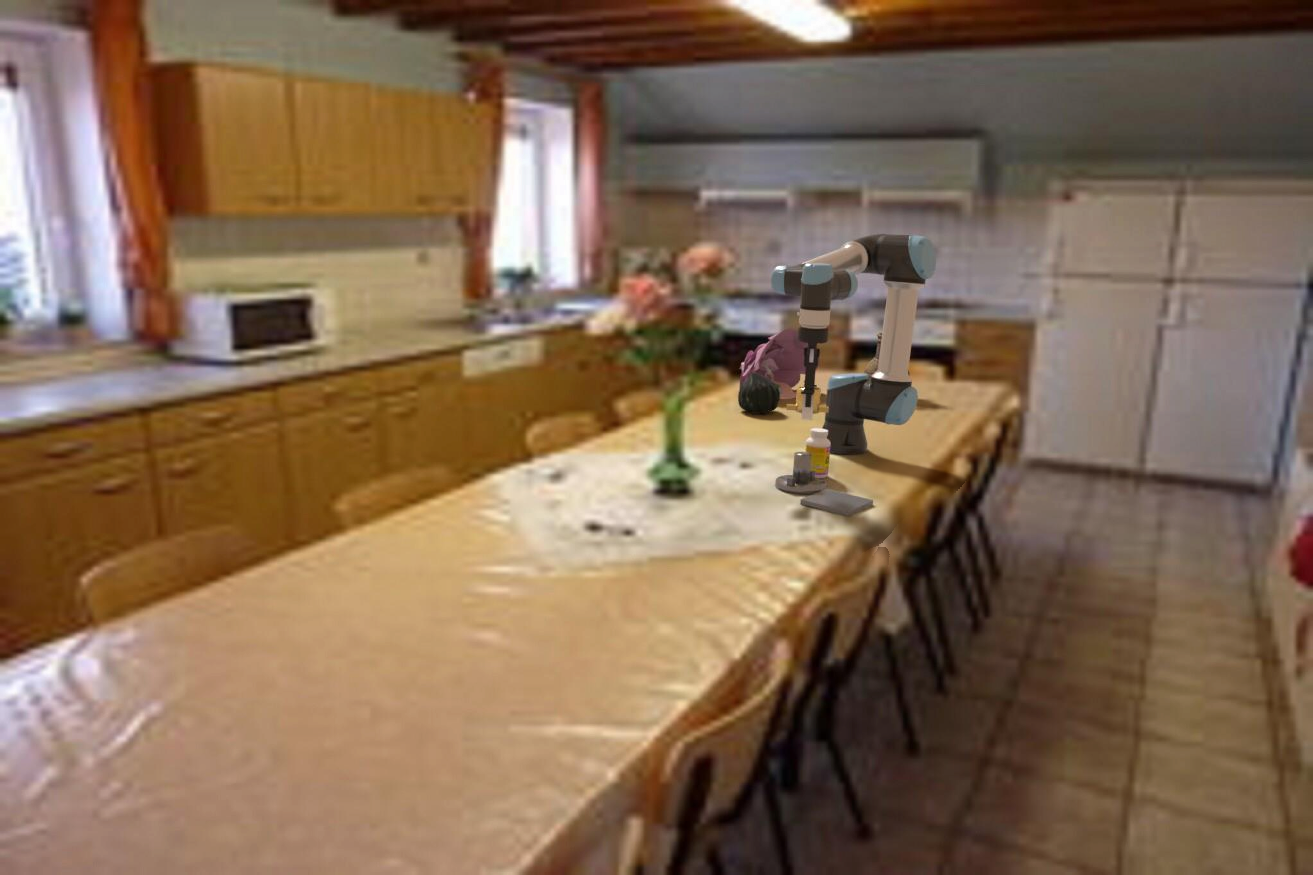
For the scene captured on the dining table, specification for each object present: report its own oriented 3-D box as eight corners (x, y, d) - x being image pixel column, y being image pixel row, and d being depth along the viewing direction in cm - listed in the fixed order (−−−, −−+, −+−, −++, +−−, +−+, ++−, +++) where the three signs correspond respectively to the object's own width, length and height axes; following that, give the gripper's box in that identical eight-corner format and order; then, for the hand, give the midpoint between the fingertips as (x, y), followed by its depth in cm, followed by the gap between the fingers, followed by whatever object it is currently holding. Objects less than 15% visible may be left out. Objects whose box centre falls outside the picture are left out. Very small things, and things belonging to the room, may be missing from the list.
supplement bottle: (827, 480, 254) (831, 433, 251) (802, 477, 255) (806, 431, 252) (828, 473, 260) (832, 428, 257) (803, 471, 261) (807, 426, 258)
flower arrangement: (775, 416, 354) (791, 345, 343) (721, 395, 365) (735, 326, 353) (812, 394, 382) (829, 328, 371) (761, 375, 393) (775, 310, 381)
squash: (793, 398, 336) (769, 363, 338) (775, 406, 324) (750, 370, 326) (765, 419, 344) (742, 385, 346) (746, 427, 332) (722, 392, 334)
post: (791, 477, 255) (794, 445, 253) (834, 487, 247) (837, 454, 245) (765, 486, 245) (768, 453, 243) (809, 498, 237) (812, 463, 235)
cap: (828, 410, 243) (830, 386, 242) (828, 415, 238) (830, 391, 236) (786, 407, 245) (788, 384, 243) (786, 412, 239) (787, 388, 238)
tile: (826, 493, 242) (827, 488, 241) (872, 504, 234) (873, 500, 233) (800, 503, 232) (800, 499, 232) (847, 516, 224) (848, 511, 224)
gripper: (799, 320, 245) (793, 407, 251) (797, 330, 227) (791, 423, 233) (828, 322, 244) (821, 409, 250) (829, 332, 226) (821, 425, 232)
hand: (806, 416), depth 242 cm, fingers closed on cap, 6 cm apart
